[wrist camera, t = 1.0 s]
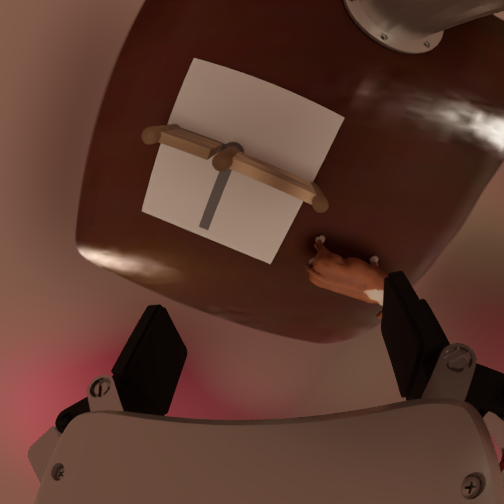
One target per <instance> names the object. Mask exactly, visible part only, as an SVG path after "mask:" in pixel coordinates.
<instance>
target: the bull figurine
mask: <svg viewBox="0 0 504 504" xmlns="http://www.w3.org/2000/svg"><path fill="white" fill-rule="evenodd" d="M325 239H326V238H325V236H323V235H321V236H319V237H316V239H315V241H316V243H315V244H314V247H315V248H316V249H317V251H318V253H317V255H316V256H315V258H312V259H310V261H309V264H306V265H305V268H306V270H307V271H308V273H309V280H310V281H311V282H312V283H313V284H315V285H316V286H318V287H321V288H326V289H329V290H331V291H333V292H337V293H340V294H343V295H347V296H350V297H353V298H356V299H359V300H362V301H365V302H368V303H378V304H379V305H381V306H383V292H384V278H385V277H388V275H387V274H386V273H385V272H384V271H382V270H381V269H380V267H379V266H378V263H377V261H378V260H379V258H378V257H377V256H372V257H371V258H370V259H369V260H370V262H371V265H369V264H367V263H366V262H364V261H363V260H361V259H358V258H353V257H352V258H342V257H341V256H339V255H337V254H335V253H331V252H330V251H328V249H327V248H326V247H325V246H324V245H323V242H325ZM377 318H382V311H380V312H379V313H378V314H377Z"/></svg>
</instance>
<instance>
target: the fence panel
mask: <svg viewBox="0 0 504 504" xmlns="http://www.w3.org/2000/svg"><path fill="white" fill-rule="evenodd" d="M212 165H213V167H214V169H215V170H217V171H220V172H223V171H226V170H228V169H231V170H233V171H236V172H238V173H241V174H243V175H245V176H248V177H250V178H253V179H255V180H257V181H260V182H262V183H264V184H267V185H269V186H271V187H273V188H276V189H278V190H280V191H282V192H285V193H287V194H289V195H291V196H294V197H296V198H298V199H300V200H302V201H304V202H307V203H309V204H311V205H312V206H313V208H314V210H315V211H316V212H318V213H323V212H325V211H326V210H327V209H328V207H329V204H328V201H327V199H326V198H325V196H324V194H323V193H322V191H321V189H320V187H319V186H318V184H317V183H315V182H308V181H306V180H304V179H302V178H300V177H297V176H295V175H293V174H291V173H289V172H287V171H284V170H282V169H280V168H278V167H275V166H273V165H271V164H268V163H266V162H264V161H261V160H259V159H257V158H254V157H252V156H250V155H247V154H245V153H242V152H240V150H239V149H238V148H237V147H236V146H229V147H228V148H226V149H224V150H223V151H221V152H219V153H218V154H216V155H215V156H214V157H213V159H212Z"/></svg>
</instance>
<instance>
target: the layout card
mask: <svg viewBox="0 0 504 504" xmlns="http://www.w3.org/2000/svg"><path fill="white" fill-rule="evenodd" d="M343 120H344V117H342V116H340V115H338V114H337V113H335V112H333V111H331V110H329V109H327V108H325V107H323V106H321V105H319V104H317V103H315V102H313V101H310V100H308V99H306V98H304V97H302V96H300V95H297V94H295V93H293V92H291V91H288V90H286V89H284V88H281V87H279V86H276V85H274V84H271V83H269V82H266V81H264V80H261V79H258V78H256V77H253V76H250V75H247V74H245V73H242V72H239V71H236V70H233V69H230V68H227V67H224V66H220V65H217V64H214V63H210V62H207V61H203V60H200V59H196V58H194V59H193V61H192V64H191V66H190V68H189V70H188V73H187V75H186V77H185V80H184V82H183V85H182V87H181V90H180V92H179V95H178V97H177V100H176V102H175V105H174V108H173V110H172V113H171V116H170V119H169V121H168V124H167V125H169V124H177V125H179V127H180V129H183V130H186V131H189V132H192V133H195V134H197V135H200V136H203V137H206V138H208V139H211V140H214V141H216V142H219V143H222V146H221V149H220V151H219V152H221V151H223V150H224V149H226V148H228V147H229V146H236V147H237V148H238V149H239V150H240V152H242V153H245V154H247V155H250V156H252V157H254V158H257V159H259V160H261V161H264V162H266V163H268V164H271V165H273V166H275V167H278V168H280V169H282V170H284V171H287V172H289V173H291V174H293V175H295V176H297V177H300V178H302V179H304V180H306V181H308V182H313V181H314V179H315V177H316V175H317V173H318V171H319V169H320V167H321V165H322V163H323V161H324V159H325V157H326V155H327V153H328V151H329V149H330V147H331V145H332V143H333V140H334V138H335V136H336V134H337V132H338V130H339V128H340V126H341V124H342V122H343ZM217 154H218V153H217ZM214 156H215V155H214ZM214 156H212V157H211V158H209V159H208V160H205V159H203V158H200V157H197V156H195V155H192V154H189V153H187V152H184V151H181V150H179V149H176V148H173V147H170V146H167V145H165V144H162V143H161V145H160V148H159V151H158V154H157V158H156V161H155V164H154V167H153V171H152V174H151V178H150V181H149V185H148V189H147V192H146V196H145V200H144V204H143V208H142V211H143V212H145V213H148V214H150V215H153V216H155V217H157V218H160V219H162V220H165V221H167V222H169V223H172V224H174V225H177V226H179V227H182V228H184V229H186V230H189V231H191V232H194V233H196V234H198V235H201V236H203V237H206V238H208V239H211V240H213V241H215V242H218V243H220V244H223V245H225V246H228V247H230V248H232V249H235V250H237V251H240V252H242V253H245V254H247V255H249V256H252V257H254V258H257V259H259V260H262V261H264V262H267V263H269V264H271V262H272V260H273V258H274V257H275V255H276V253H277V251H278V249H279V247H280V245H281V243H282V241H283V239H284V237H285V236H286V234H287V232H288V230H289V228H290V226H291V224H292V222H293V220H294V218H295V216H296V214H297V212H298V210H299V208H300V206H301V204H302V202H303V201H302V200H300V199H298V198H296V197H294V196H291V195H289V194H287V193H285V192H282V191H280V190H278V189H276V188H273V187H271V186H269V185H267V184H264V183H262V182H260V181H257V180H255V179H253V178H250V177H248V176H245V175H243V174H241V173H238V172H236V171H233V170H231V169H228V170H226V171H223V172H220V171H217V170H215V169H214V167H213V165H212V159H213V157H214Z"/></svg>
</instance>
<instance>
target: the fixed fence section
mask: <svg viewBox="0 0 504 504" xmlns="http://www.w3.org/2000/svg"><path fill="white" fill-rule="evenodd" d="M142 140H143V142H144V143H146V144H154V143H157V142H159V143H162V144H165V145H167V146H170V147H173V148H176V149H179V150H181V151H184V152H187V153H189V154H192V155H195V156H197V157H200V158H203V159H205V160H208V159H209V158H211V157H212V156H214V155H216V154H217V153H219V151H220V149H221V146H222V143H219V142H216V141H214V140H211V139H208V138H206V137H203V136H200V135H197V134H195V133H192V132H189V131H186V130H183V129H180V127H179V125H177V124H169V125H160V126H153V127H147V128H145V129H144V130H143V132H142Z"/></svg>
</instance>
